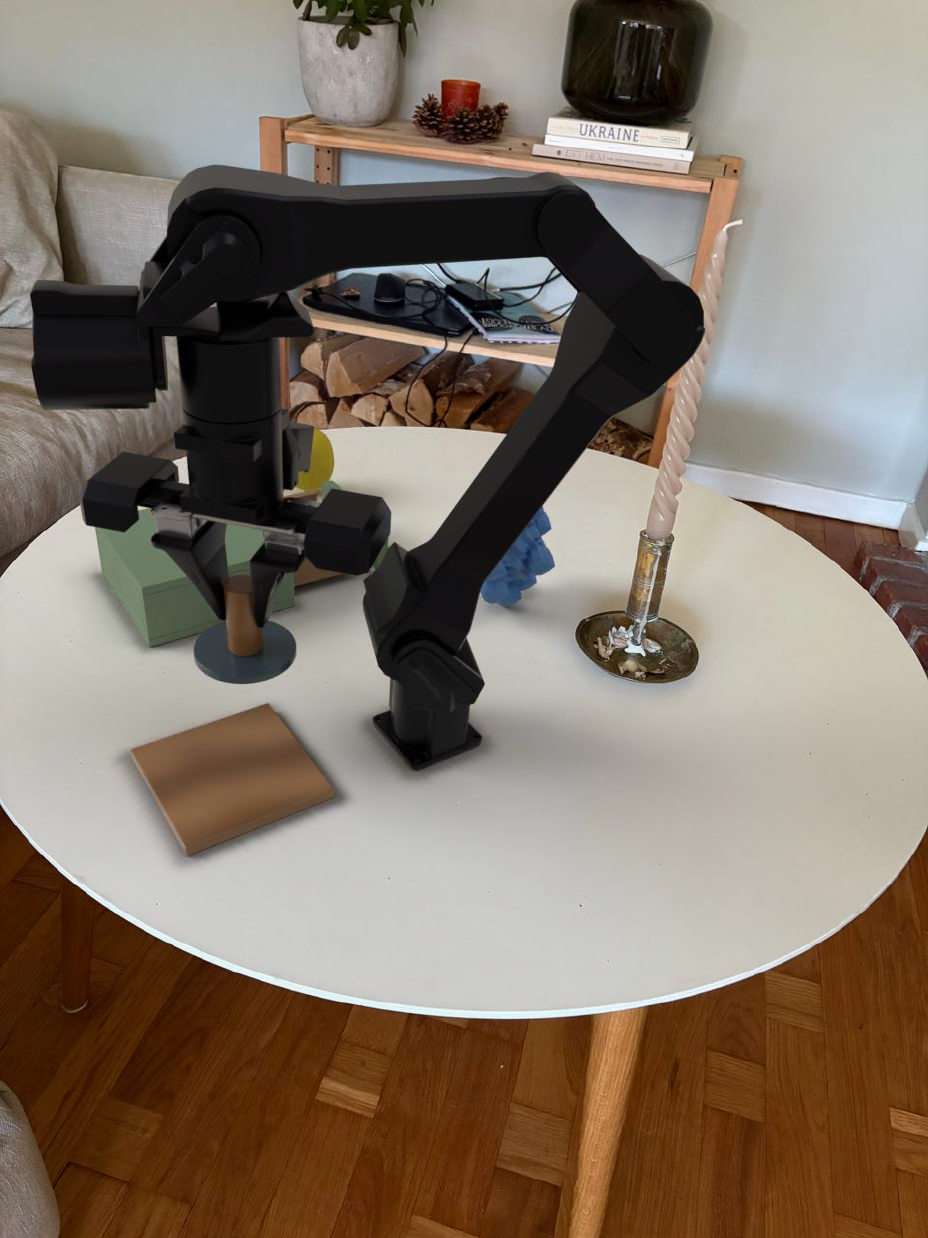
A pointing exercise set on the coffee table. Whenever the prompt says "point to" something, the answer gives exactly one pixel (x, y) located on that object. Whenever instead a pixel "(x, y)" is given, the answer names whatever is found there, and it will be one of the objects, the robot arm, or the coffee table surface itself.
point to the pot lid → (243, 641)
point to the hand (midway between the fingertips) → (244, 620)
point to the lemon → (318, 463)
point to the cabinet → (171, 580)
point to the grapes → (520, 564)
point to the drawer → (307, 569)
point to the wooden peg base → (229, 777)
